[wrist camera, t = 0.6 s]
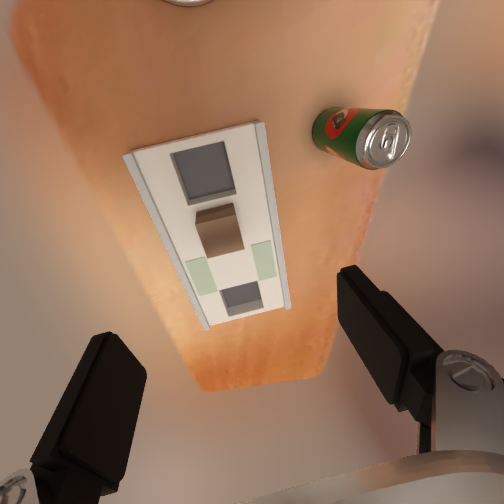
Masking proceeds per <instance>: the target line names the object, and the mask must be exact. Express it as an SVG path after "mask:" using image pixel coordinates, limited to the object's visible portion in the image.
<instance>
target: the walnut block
mask: <svg viewBox="0 0 504 504" xmlns="http://www.w3.org/2000/svg"><path fill="white" fill-rule="evenodd" d="M195 226H196V229H197V232H198V235H199V237H200V240H201V243H202V246H203V248H204V251H205V254H206V256H207V259H208V258H212V257H216V256H220V255H224V254H228V253H232V252H236V251H240V250H244V249H245V248H244V244H243V240H242V236H241V232H240V228H239V224H238V220H237V216H236V212H235V208H234V204H233V203H230V204H225V205H221V206H217V207H213V208H209V209H205V210H201V211H197V212H196V219H195Z"/></svg>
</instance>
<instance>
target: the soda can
mask: <svg viewBox="0 0 504 504" xmlns="http://www.w3.org/2000/svg"><path fill="white" fill-rule="evenodd" d="M313 139H314V142H315V144H316V146H317V147H318V148H319V149H321V150H323V151H325V152H327V153H330V154H332V155H334V156H337V157H339V158H341V159H344V160H346V161H348V162H351V163H353V164H356V165H358V166H360V167H363V168H365V169H368V170H376V169H380V168H386V167H389V166H391V165H393V164H394V163H396V162H397V161H398V160H399V159H400V158H401V157H402V156H403V155H404V153H405V152H406V150H407V148H408V146H409V143H410V140H411V127H410V124H409V122H408V121H407V120H406V119H405V118H404V117H403V116H402V115H401V114H400V113H399V112H397V111H395V110H388V109H364V108H340V107H334V108H330V109H327V110H326V111H324V112H323V113H322V114H321V115H320V116H319V117H318V119H317V120H316V122H315V125H314V129H313Z"/></svg>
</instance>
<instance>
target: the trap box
mask: <svg viewBox="0 0 504 504" xmlns="http://www.w3.org/2000/svg"><path fill="white" fill-rule="evenodd" d="M122 157H123V159H124V161H125V163H126V165H127V168H128V170H129V172H130V174H131V176H132V178H133V180H134V182H135V185H136V187H137V189H138V191H139V193H140V195H141V197H142V199H143V202H144V204H145V206H146V208H147V210H148V212H149V214H150V216H151V219H152V221H153V223H154V225H155V227H156V229H157V231H158V233H159V236H160V238H161V240H162V242H163V244H164V246H165V248H166V250H167V253H168V255H169V257H170V259H171V261H172V263H173V265H174V267H175V269H176V272H177V274H178V276H179V278H180V280H181V282H182V284H183V286H184V289H185V291H186V293H187V295H188V297H189V299H190V301H191V303H192V306H193V308H194V310H195V312H196V314H197V316H198V318H199V320H200V323H201V325H202V327H203V329H204V331H205V330H209V329H210V326H211V325H215V324H219V323H223V322H227V321H230V320H234V319H238V318H242V317H246V316H250V315H254V314H258V313H261V312H265V311H269V310H273V309H277V308H281V307H285V308H286V310H287V309H291V302H290V295H289V289H288V282H287V275H286V268H285V261H284V254H283V247H282V241H281V234H280V227H279V220H278V213H277V206H276V199H275V193H274V186H273V179H272V172H271V165H270V158H269V152H268V145H267V138H266V131H265V124H264V122H263V121H260V120H257V121H253V122H249V123H244V124H240V125H236V126H232V127H228V128H223V129H219V130H215V131H211V132H206V133H202V134H198V135H194V136H190V137H185V138H181V139H177V140H173V141H168V142H164V143H160V144H156V145H151V146H147V147H143V148H139V149H135V150H130V151H129V152H127V153H125V154H124V155H122ZM230 203H233V204H234V208H235V212H236V216H237V220H238V224H239V228H240V232H241V236H242V240H243V244H244V248H245V249H244V250H240V251H236V252H232V253H228V254H224V255H220V256H216V257H212V258H208V259H207V256H206V254H205V251H204V248H203V246H202V243H201V240H200V237H199V235H198V232H197V229H196V226H195V219H196V212H197V211H201V210H205V209H209V208H213V207H217V206H221V205H225V204H230Z"/></svg>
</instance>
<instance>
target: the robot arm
mask: <svg viewBox="0 0 504 504" xmlns="http://www.w3.org/2000/svg"><path fill="white" fill-rule="evenodd" d="M164 1H167V2H170V3H173V4H175V5H180V6H189V7H192V6H198V5H203V4H206V3H208V2H210V1H212V0H164ZM337 303H338V319H339V322H340V324H341V326H342V328H343V329H344V331H345V333H346V334H347V336H348V337H349V339H350V341H351V343H352V344H353V346H354V348H355V349H356V351H357V353H358V354H359V356H360V357H361V359H362V361H363V363H364V364H365V366H366V367H367V369H368V371H369V373H370V374H371V376H372V378H373V379H374V381H375V382H376V384H377V386H378V388H379V389H380V391H381V392H382V394H383V396H384V397H385V399H386V401H387V402H388V403H389V404H394V405H395V407H396V408H397V410H398V412H401V411H405V410H409V412H410V413H411V415H412V416H413V418H414V419H415V420H416V421H418V425H417V445H416V455H412V456H407V457H403V458H400V459H396V460H392V461H388V462H384V463H380V464H376V465H372V466H369V467H365V468H361V469H357V470H353V471H350V472H346V473H343V474H340V475H336V476H332V477H328V478H325V479H321V480H318V481H315V482H311V483H307V484H303V485H300V486H296V487H293V488H289V489H286V490H282V491H279V492H275V493H272V494H268V495H265V496H261V497H258V498H254V499H251V500H247V501H244V502H240V503H237V504H504V379H503V378H501V376H500V374H499V373H498V372H497V370H496V369H495V368H494V367H493V366H492V365H490V364H489V363H488V362H487V361H486V360H484V359H482V358H480V357H479V356H477V355H475V354H472V353H469V352H467V351H462V350H447V351H444V350H443V349H442V348H441V347H440V346H439V345H438V344H437V343H436V342H435V341H434V340H433V339H432V338H431V337H430V336H429V335H428V334H427V333H426V331H425V330H423V328H422V327H421V326H420V325H419V324H418V323H417V322H416V321H415V320H414V319H413V318H412V317H411V316H410V315H409V314H408V313H407V312H406V311H405V310H404V308H403V307H402V306H401V305H400V304H399V303H398V302H397V301H396V300H395V299H394V298H393V297H392V296H391V295H390V294H389V293H388V292H385V291H380V290H379V289H378V288H377V287H376V286H375V285H374V284H373V283H372V282H371V280H370V279H369V278H368V277H367V276H366V275H365V274H364V273H363V272H362V271H361V270H360V269H359V267H358V266H356V265H352V266H348V267H344V268H341V270H340V272H339V273H337ZM146 379H147V373H146V370H145V368H144V367H143V366H142V365H141V363H140V362H139V361H138V360H137V359H136V357H135V356H134V355H133V354H132V352H131V351H130V350H129V349H128V348H127V346H126V345H125V344H124V343H123V341H122V340H121V339H120V338H119V336H118V335H117V334H113V333H112V332H105V333H101V334H98V335H94V336H93V337H92V338H91V340H90V342H89V344H88V346H87V348H86V350H85V352H84V354H83V356H82V358H81V360H80V362H79V364H78V366H77V368H76V370H75V372H74V374H73V376H72V378H71V380H70V382H69V384H68V386H67V388H66V390H65V392H64V394H63V396H62V398H61V400H60V402H59V404H58V406H57V408H56V410H55V412H54V414H53V416H52V418H51V420H50V422H49V424H48V425H47V427H46V430H45V432H44V433H43V436H42V438H41V439H40V441H39V443H38V445H37V447H36V449H35V451H34V454H33V455H32V458H31V459H30V462H32V463H33V464H32V466H31V468H30V470H28V469H21V470H18V471H16V472H14V473H12V474H10V475H9V476H7V477H6V478H5V479H4V480H2V481H1V482H0V504H98V502H99V498H100V496H105V495H108V494H112V493H115V492H117V491H118V487H119V482H120V481H121V480H122V479H123V477H124V475H125V471H126V467H127V462H128V458H129V453H130V449H131V444H132V440H133V436H134V431H135V427H136V422H137V418H138V414H139V409H140V405H141V401H142V396H143V392H144V387H145V383H146Z"/></svg>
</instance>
